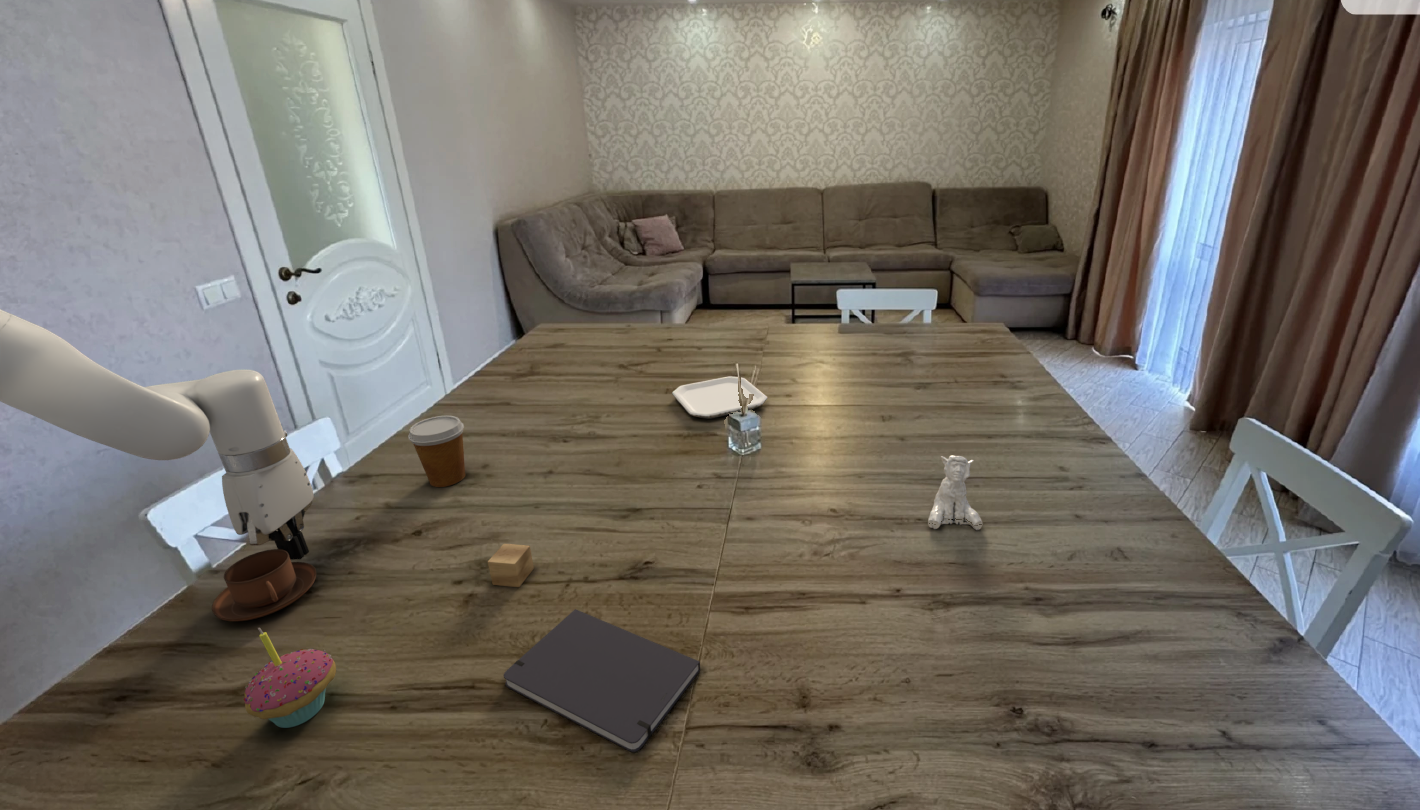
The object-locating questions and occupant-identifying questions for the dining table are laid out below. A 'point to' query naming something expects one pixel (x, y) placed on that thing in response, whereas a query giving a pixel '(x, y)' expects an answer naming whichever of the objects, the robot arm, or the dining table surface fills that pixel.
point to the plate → (716, 397)
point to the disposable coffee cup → (440, 449)
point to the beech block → (511, 565)
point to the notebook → (603, 678)
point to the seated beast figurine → (954, 496)
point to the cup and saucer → (262, 585)
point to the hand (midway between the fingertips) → (295, 556)
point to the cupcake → (289, 685)
